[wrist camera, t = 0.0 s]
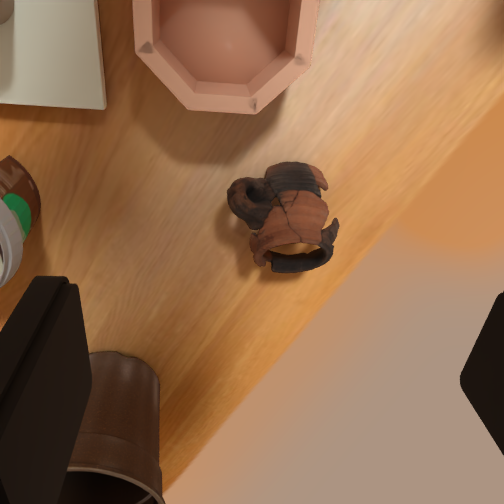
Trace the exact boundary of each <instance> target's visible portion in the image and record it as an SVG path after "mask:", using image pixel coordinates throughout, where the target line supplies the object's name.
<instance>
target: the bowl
mask: <svg viewBox="0 0 504 504" xmlns="http://www.w3.org/2000/svg"><path fill="white" fill-rule="evenodd" d="M319 2H320V0H132V4H133V23H134V41H135V52H136V54H137V55H138V56H139V58H140V59H141V60H142V61H143V62H144V63H145V64H146V65H147V66H148V67H149V68H150V69H151V71H152V72H153V73H154V74H155V75H156V76H157V77H158V78H159V79H160V80H161V81H162V83H163V84H164V85H165V86H166V87H167V88H168V89H169V90H170V91H171V92H172V93H173V94H174V96H175V97H176V98H177V99H178V100H179V101H180V102H181V103H182V104H183V105H184V106H185V107H186V109H187V110H195V111H210V112H226V113H241V114H257V113H258V112H260V111H261V110H262V109H263V108H264V107H265V106H266V105H268V104H269V103H270V102H271V101H272V100H273V99H274V98H275V97H277V96H278V95H279V94H280V93H281V92H282V91H283V90H284V89H286V88H287V87H288V86H289V85H290V84H291V83H292V82H294V81H295V80H296V79H297V78H298V77H299V76H300V75H301V74H303V73H304V72H305V71H306V70H307V69H308V68H309V67H310V65H311V58H312V51H313V44H314V37H315V30H316V23H317V16H318V9H319Z"/></svg>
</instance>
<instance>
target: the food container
mask: <svg viewBox="0 0 504 504" xmlns="http://www.w3.org/2000/svg"><path fill="white" fill-rule="evenodd" d="M40 206H41V203H40V195H39V191H38V189H37V186H36V184H35V182H34V180H33V179H32V177H31V175H30V174H29V173H28V172H27V170H26V169H25V168H24V167H23V166H22V165H21V164H20V163H19V162H18V161H16V160H15V159H14V158H12V157H11V156H10V155H9V156H7V157H6V158H5V159H3V160H2V161H0V288H1V287H2V286H4V285H5V284H6V283H7V282H8V281H9V280H10V279H11V278H12V277H13V276H14V275H15V273H16V271H17V270H18V268H19V266H20V263H21V260H22V253H23V242H24V241H25V239H26V237H27V235H28V234H29V232H30V230H31V228H32V227H33V225H34V223H35V221H36V220H37V218H38V215H39V212H40Z"/></svg>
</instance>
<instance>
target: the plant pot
mask: <svg viewBox="0 0 504 504" xmlns="http://www.w3.org/2000/svg"><path fill="white" fill-rule="evenodd" d="M89 358H90V365H91V371H92V388H91V393H90V396H89V399H88V403H87V406H86V409H85V413H84V416H83V419H82V423H81V426H80V429H79V432H78V436H77V439H76V442H75V446H74V449H73V452H72V456H71V459H70V462H69V465H68V469H67V472H66V475H65V479H64V482H63V485H62V489H61V492H60V495H59V498H58V502H57V504H165V501H164V499H163V497H162V472H161V469H160V466H159V404H160V384H159V380H158V377H157V376H156V374H155V372H154V371H153V370H152V369H151V368H150V367H149V366H148V365H147V364H146V363H145V362H143V361H141V360H140V359H138V358H136V357H131V358H128V357H125V356H122V355H120V354H119V353H118V352H96V353H91V354H89Z"/></svg>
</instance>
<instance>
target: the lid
mask: <svg viewBox="0 0 504 504" xmlns="http://www.w3.org/2000/svg"><path fill="white" fill-rule="evenodd" d="M0 103H5V104H21V105H36V106H52V107H67V108H83V109H99V110H104V109H105V108H106V107H107V101H106V90H105V79H104V67H103V56H102V45H101V34H100V23H99V12H98V0H0Z"/></svg>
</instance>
